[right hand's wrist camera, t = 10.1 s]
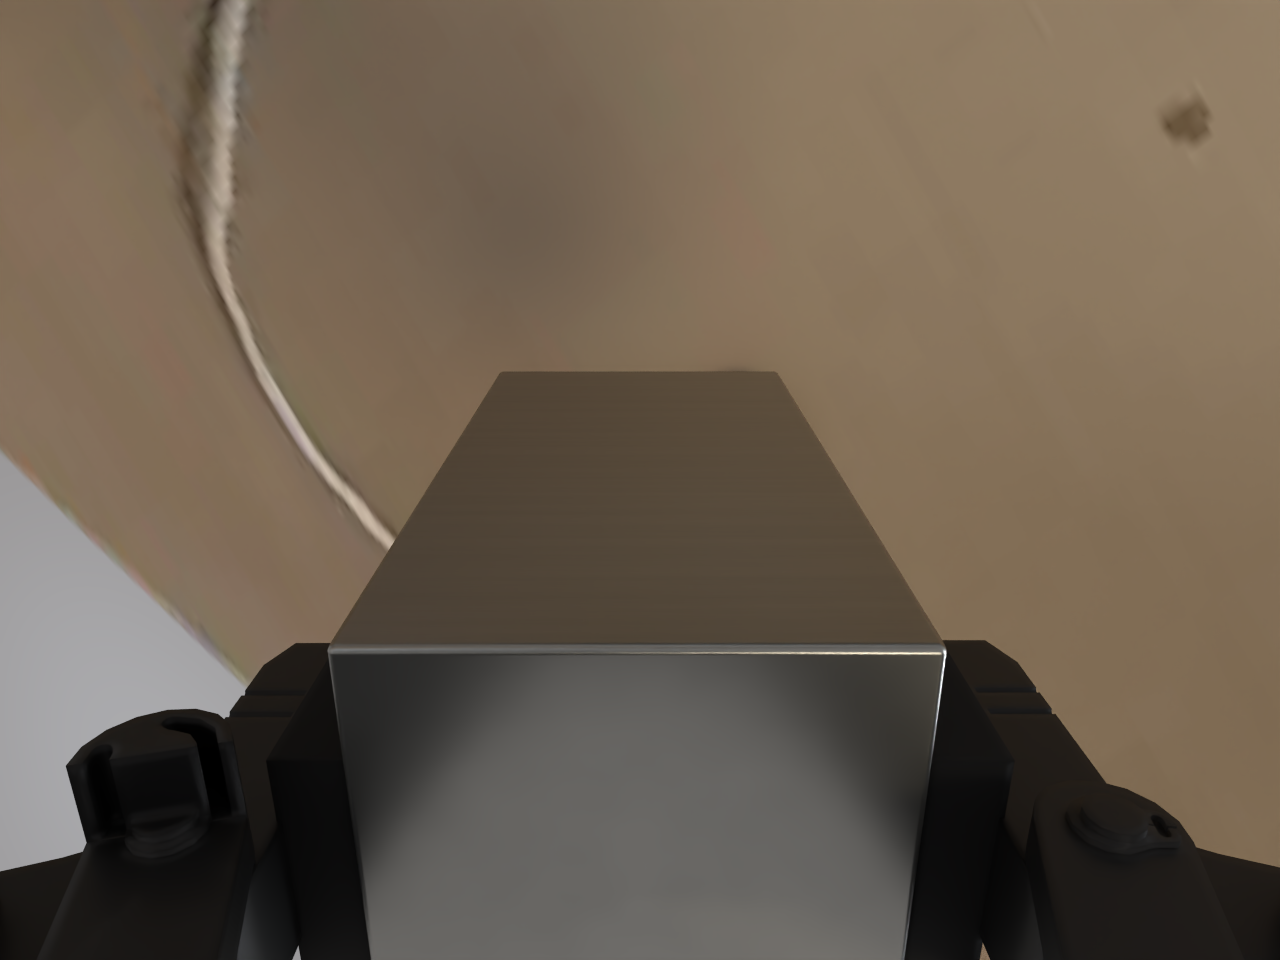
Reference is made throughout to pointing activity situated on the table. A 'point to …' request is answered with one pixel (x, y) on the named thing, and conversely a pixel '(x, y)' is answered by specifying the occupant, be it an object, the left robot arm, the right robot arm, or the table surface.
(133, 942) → the right robot arm
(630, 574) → the silver metal block
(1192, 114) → the table surface
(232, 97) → the table surface
